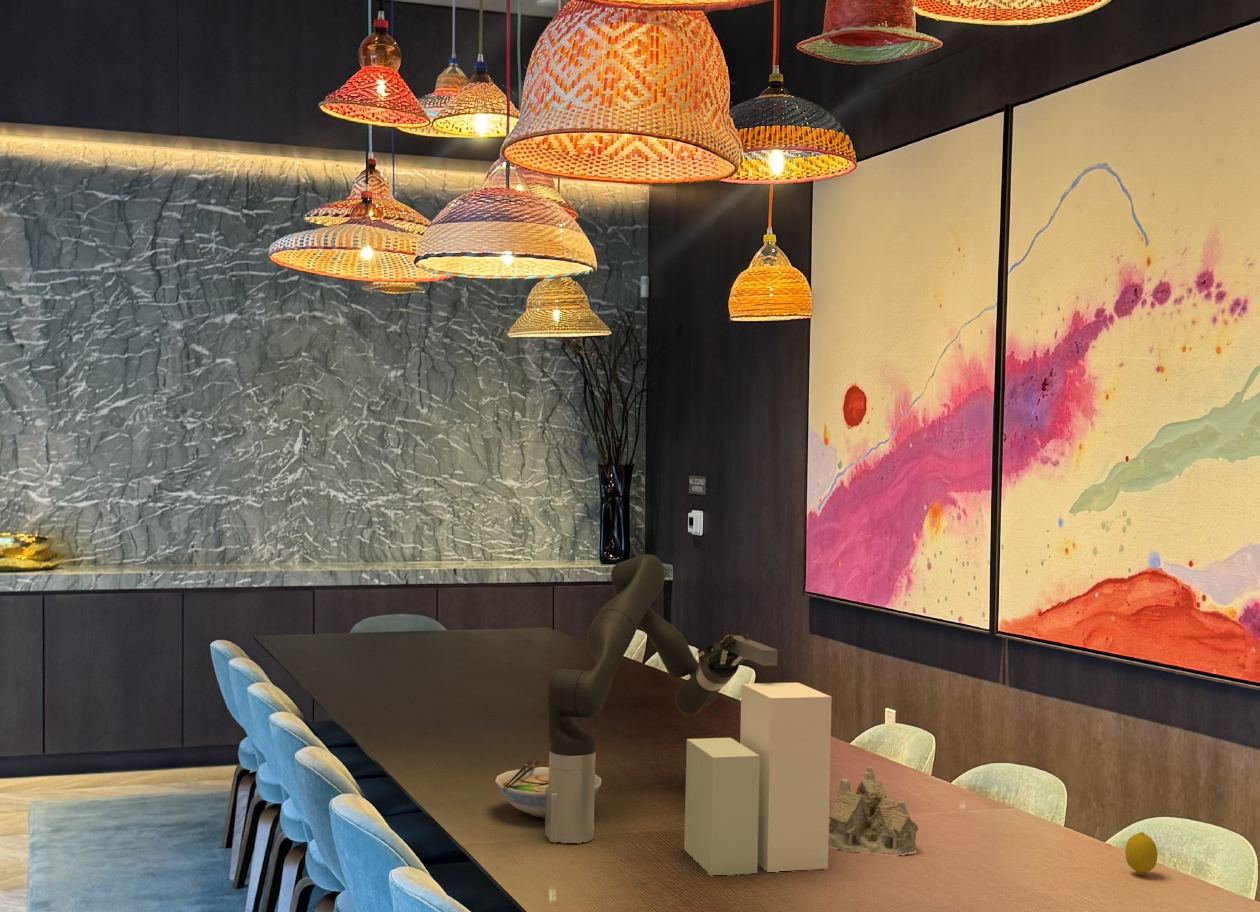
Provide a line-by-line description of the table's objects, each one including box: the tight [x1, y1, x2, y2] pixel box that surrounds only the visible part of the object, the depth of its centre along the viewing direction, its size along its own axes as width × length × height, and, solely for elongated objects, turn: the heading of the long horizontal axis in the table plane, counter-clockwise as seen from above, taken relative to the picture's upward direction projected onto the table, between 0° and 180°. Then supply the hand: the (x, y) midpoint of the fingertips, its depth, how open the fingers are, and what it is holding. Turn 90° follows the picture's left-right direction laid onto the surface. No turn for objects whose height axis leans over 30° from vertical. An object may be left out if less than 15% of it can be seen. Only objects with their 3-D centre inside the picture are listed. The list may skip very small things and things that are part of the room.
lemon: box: [1124, 831, 1158, 876], centre depth 232 cm, size 6×6×8 cm
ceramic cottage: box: [828, 766, 919, 855], centre depth 246 cm, size 16×16×15 cm
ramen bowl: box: [494, 759, 602, 819], centre depth 264 cm, size 25×23×8 cm
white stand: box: [739, 682, 833, 873], centre depth 237 cm, size 12×16×32 cm
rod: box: [723, 634, 779, 667], centre depth 255 cm, size 3×24×3 cm, turn 14°
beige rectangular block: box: [683, 737, 760, 877], centre depth 234 cm, size 9×16×22 cm, turn 15°
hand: (740, 638), depth 260 cm, fingers closed on rod, 3 cm apart
